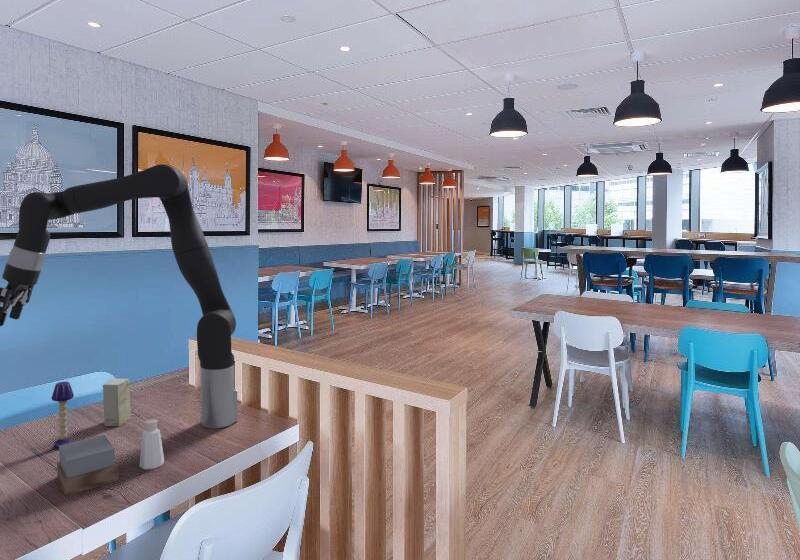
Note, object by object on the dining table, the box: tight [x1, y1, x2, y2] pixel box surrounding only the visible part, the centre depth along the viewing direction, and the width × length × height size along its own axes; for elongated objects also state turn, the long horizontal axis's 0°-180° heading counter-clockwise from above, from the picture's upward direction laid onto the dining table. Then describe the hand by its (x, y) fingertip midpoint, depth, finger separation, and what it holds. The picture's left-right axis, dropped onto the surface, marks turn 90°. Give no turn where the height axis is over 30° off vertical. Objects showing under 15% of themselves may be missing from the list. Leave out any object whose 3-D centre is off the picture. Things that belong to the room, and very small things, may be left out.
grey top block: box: [58, 434, 116, 479], centre depth 110 cm, size 9×9×4 cm
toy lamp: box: [51, 381, 75, 450], centre depth 126 cm, size 5×5×17 cm
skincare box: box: [102, 377, 132, 427], centre depth 141 cm, size 6×4×12 cm
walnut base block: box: [56, 461, 119, 497], centre depth 111 cm, size 10×10×4 cm
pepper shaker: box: [139, 418, 165, 470], centre depth 118 cm, size 5×5×11 cm
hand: (6, 321), depth 131 cm, fingers open, 8 cm apart
